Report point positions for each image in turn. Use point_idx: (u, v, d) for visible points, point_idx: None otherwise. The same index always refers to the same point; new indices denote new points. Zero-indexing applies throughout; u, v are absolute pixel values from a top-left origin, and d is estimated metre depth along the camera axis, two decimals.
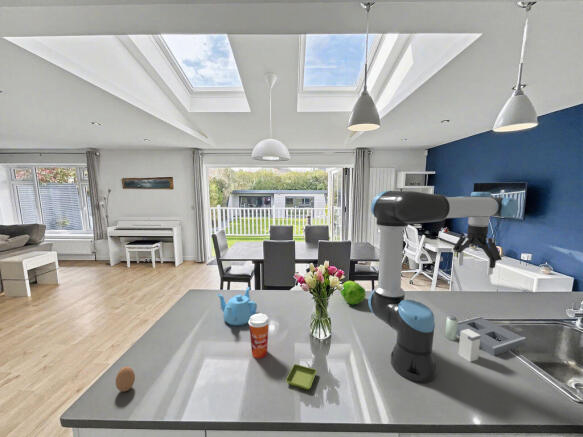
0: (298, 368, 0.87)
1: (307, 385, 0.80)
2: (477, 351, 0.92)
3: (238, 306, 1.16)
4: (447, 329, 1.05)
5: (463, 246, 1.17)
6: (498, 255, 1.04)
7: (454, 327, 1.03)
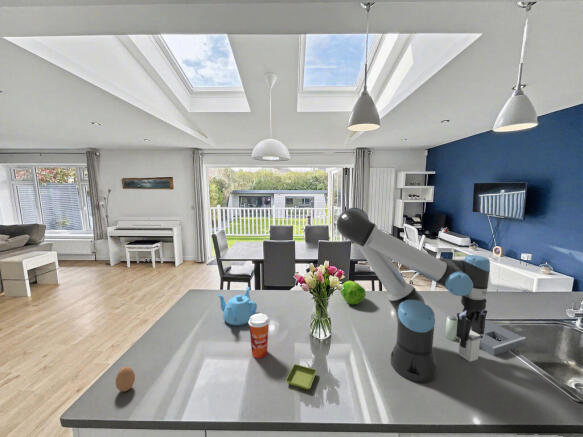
0: (298, 368, 0.87)
1: (307, 385, 0.80)
2: (477, 351, 0.92)
3: (238, 306, 1.16)
4: (447, 329, 1.05)
5: (472, 323, 0.94)
6: (460, 334, 0.91)
7: (454, 327, 1.03)
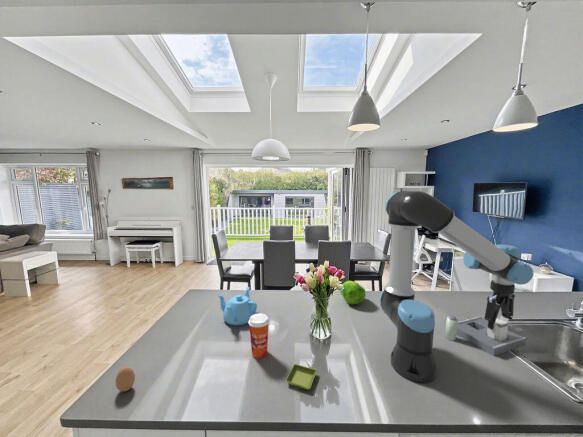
0: (298, 368, 0.87)
1: (307, 385, 0.80)
2: (505, 337, 1.00)
3: (238, 306, 1.16)
4: (447, 329, 1.05)
5: (501, 307, 1.03)
6: (488, 316, 0.98)
7: (454, 327, 1.03)
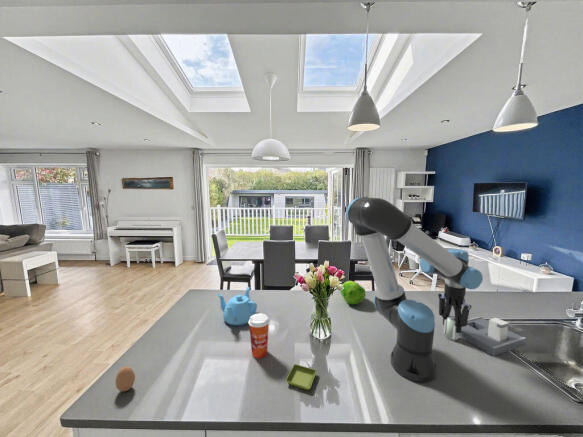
0: (298, 368, 0.87)
1: (307, 385, 0.80)
2: (505, 338, 1.00)
3: (238, 306, 1.16)
4: (447, 329, 1.05)
5: (446, 310, 1.06)
6: (465, 322, 1.00)
7: None
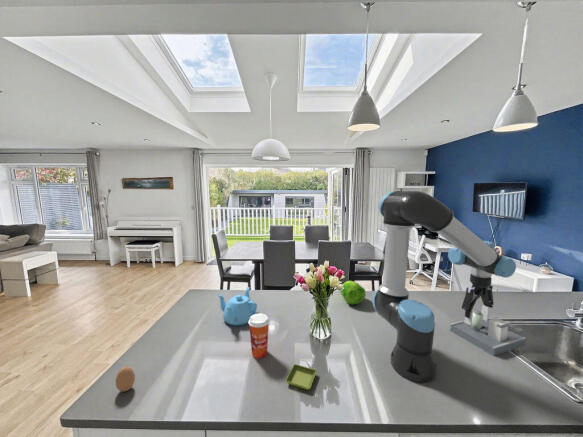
0: (298, 368, 0.87)
1: (307, 385, 0.80)
2: (505, 338, 1.00)
3: (238, 306, 1.16)
4: None
5: None
6: (465, 305, 1.06)
7: (472, 319, 1.10)
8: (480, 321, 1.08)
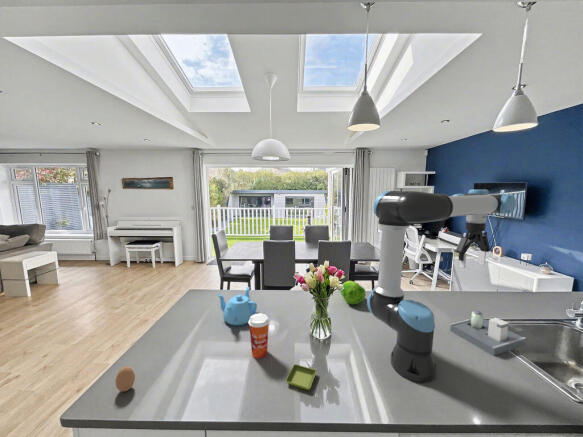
0: (298, 368, 0.87)
1: (307, 385, 0.80)
2: (505, 338, 1.00)
3: (238, 306, 1.16)
4: None
5: (478, 243, 1.17)
6: (459, 248, 1.11)
7: (472, 319, 1.10)
8: (480, 321, 1.08)
